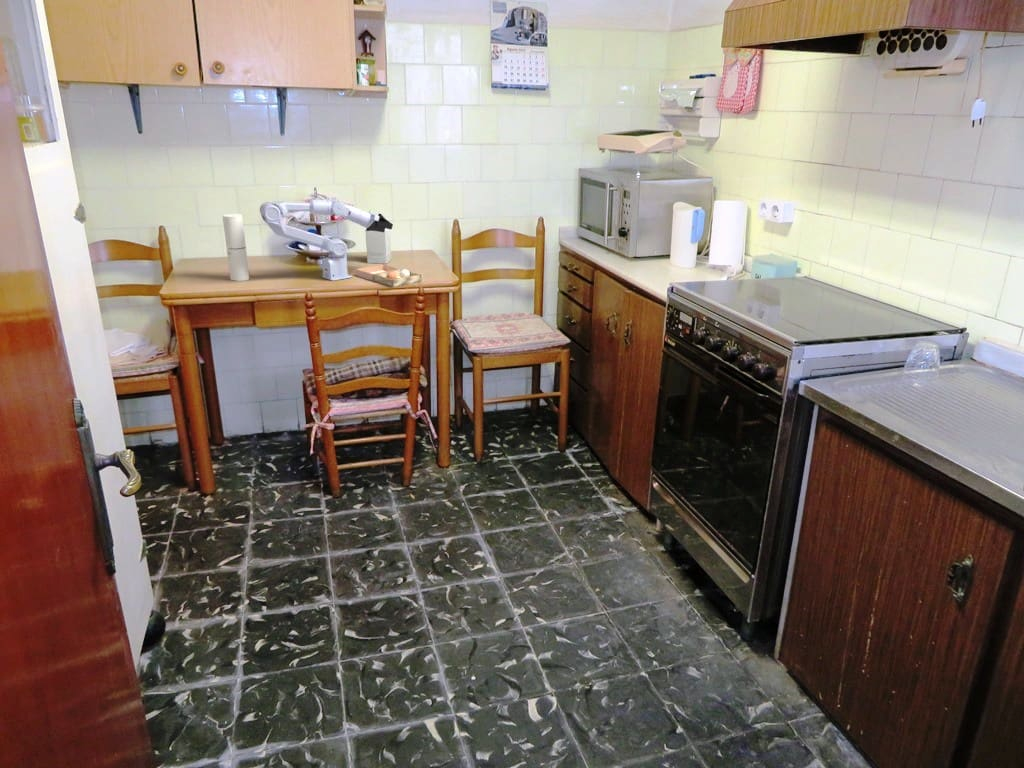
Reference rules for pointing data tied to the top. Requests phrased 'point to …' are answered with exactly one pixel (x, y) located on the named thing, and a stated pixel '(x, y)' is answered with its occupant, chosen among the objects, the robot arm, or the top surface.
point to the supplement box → (378, 246)
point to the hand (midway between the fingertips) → (388, 228)
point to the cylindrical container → (236, 247)
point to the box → (399, 281)
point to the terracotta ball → (391, 275)
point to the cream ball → (404, 273)
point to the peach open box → (374, 271)
